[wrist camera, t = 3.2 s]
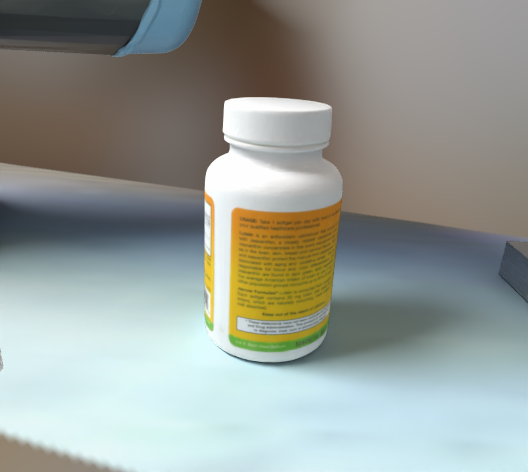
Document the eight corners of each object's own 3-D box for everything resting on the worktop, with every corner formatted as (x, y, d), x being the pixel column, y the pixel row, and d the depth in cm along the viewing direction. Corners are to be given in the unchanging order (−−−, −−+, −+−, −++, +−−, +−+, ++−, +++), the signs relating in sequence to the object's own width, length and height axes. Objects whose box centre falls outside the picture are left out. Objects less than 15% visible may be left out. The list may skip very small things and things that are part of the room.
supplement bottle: (351, 332, 22) (382, 107, 18) (266, 385, 18) (282, 118, 15) (265, 288, 25) (276, 92, 22) (179, 325, 22) (174, 97, 18)
